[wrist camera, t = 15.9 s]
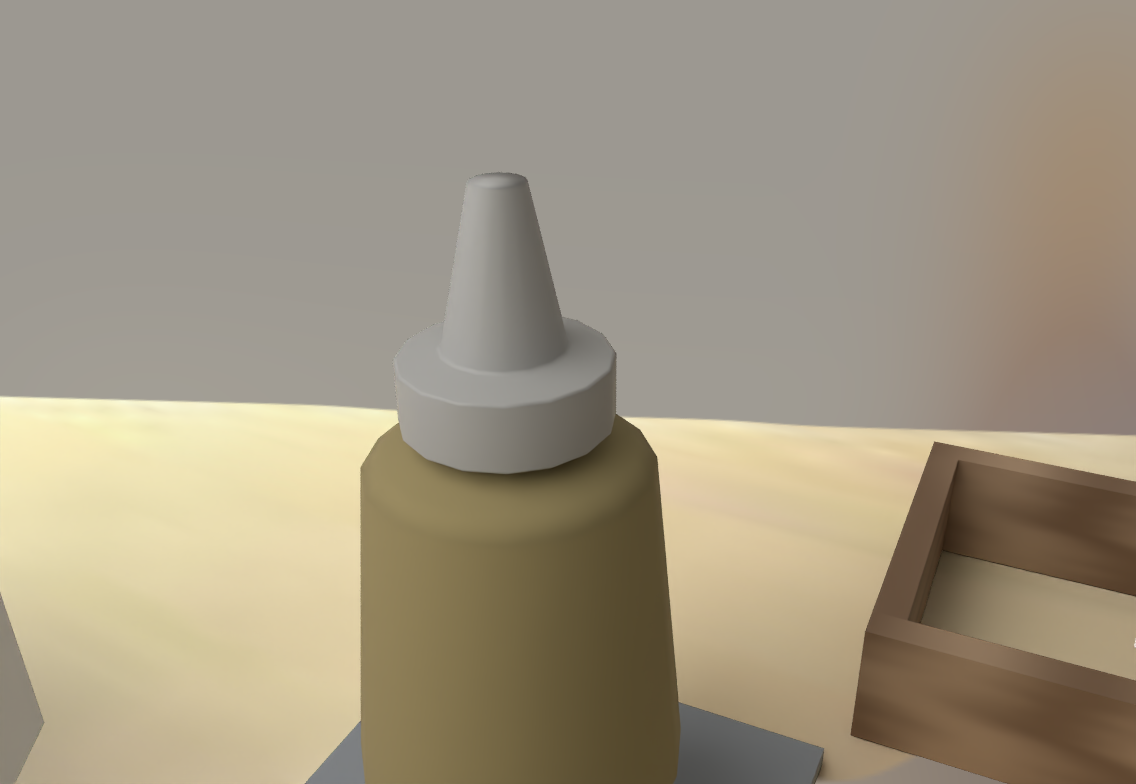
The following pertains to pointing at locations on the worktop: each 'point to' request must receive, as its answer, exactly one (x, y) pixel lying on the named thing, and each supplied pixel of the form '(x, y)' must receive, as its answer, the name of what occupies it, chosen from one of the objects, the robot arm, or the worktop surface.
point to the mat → (705, 764)
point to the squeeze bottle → (513, 541)
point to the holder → (991, 671)
